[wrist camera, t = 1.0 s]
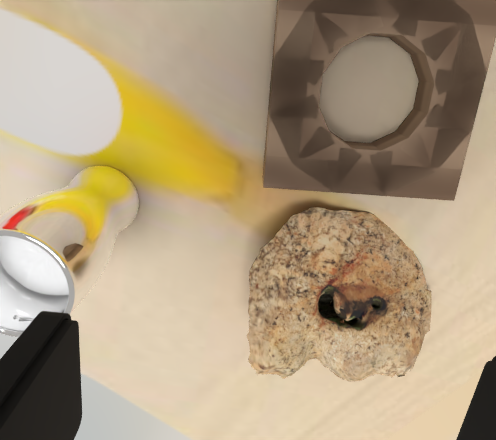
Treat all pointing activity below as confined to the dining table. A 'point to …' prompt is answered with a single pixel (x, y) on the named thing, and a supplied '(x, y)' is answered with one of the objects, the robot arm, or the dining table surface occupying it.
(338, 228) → the holed granite stone
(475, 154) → the dining table surface
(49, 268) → the beer glass
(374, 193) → the can holder
